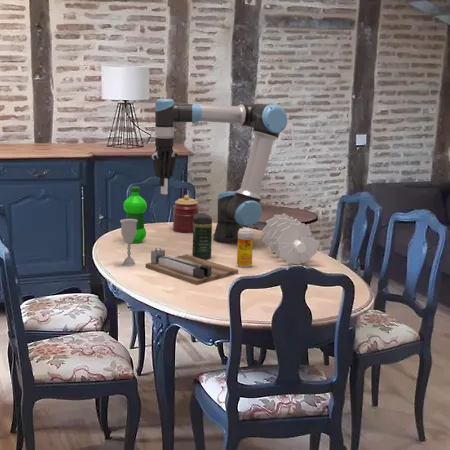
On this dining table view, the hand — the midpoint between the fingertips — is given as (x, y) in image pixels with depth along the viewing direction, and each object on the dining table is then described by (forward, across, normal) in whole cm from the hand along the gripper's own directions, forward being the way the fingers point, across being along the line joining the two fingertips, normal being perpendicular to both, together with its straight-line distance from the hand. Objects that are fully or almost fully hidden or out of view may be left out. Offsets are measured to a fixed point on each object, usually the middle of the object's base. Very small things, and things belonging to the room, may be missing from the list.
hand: (164, 193), depth 288 cm
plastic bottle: (+27, -5, -26) cm, 38 cm away
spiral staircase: (+27, -36, +39) cm, 59 cm away
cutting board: (+26, +7, +25) cm, 37 cm away
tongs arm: (+25, +11, +27) cm, 38 cm away
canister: (+27, -38, -28) cm, 54 cm away
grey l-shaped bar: (+25, +13, +25) cm, 37 cm away
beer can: (+27, -14, +34) cm, 45 cm away
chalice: (+27, +20, +2) cm, 33 cm away
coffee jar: (+27, -10, +13) cm, 31 cm away
